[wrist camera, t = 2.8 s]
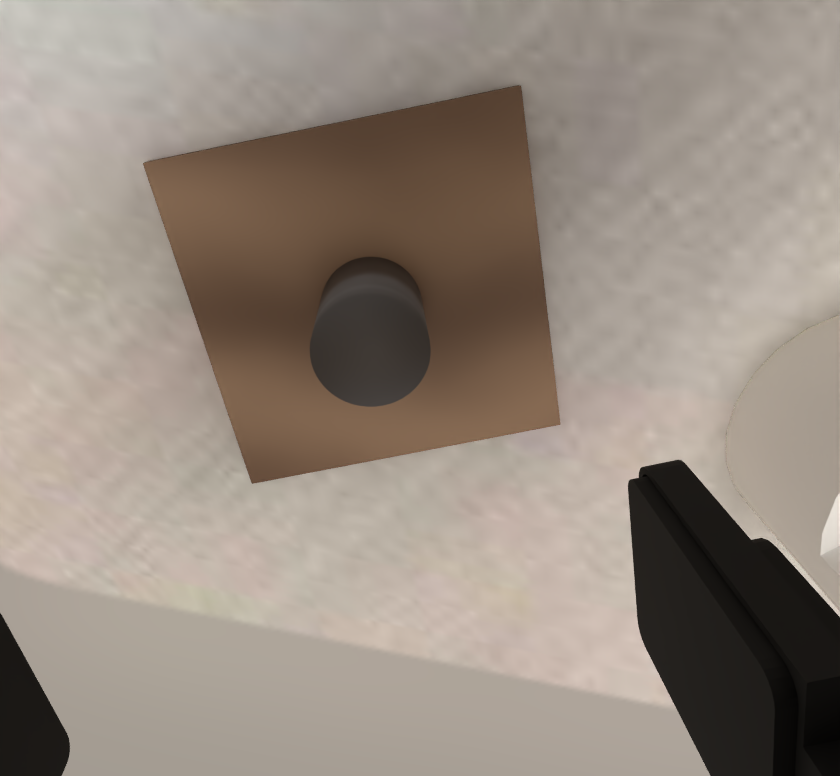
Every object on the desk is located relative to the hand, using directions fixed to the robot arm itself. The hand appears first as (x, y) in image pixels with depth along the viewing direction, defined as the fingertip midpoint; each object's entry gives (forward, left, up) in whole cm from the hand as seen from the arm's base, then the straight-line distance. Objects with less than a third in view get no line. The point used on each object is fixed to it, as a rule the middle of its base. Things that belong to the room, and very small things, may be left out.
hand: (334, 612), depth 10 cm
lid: (0, +1, -14) cm, 14 cm away
